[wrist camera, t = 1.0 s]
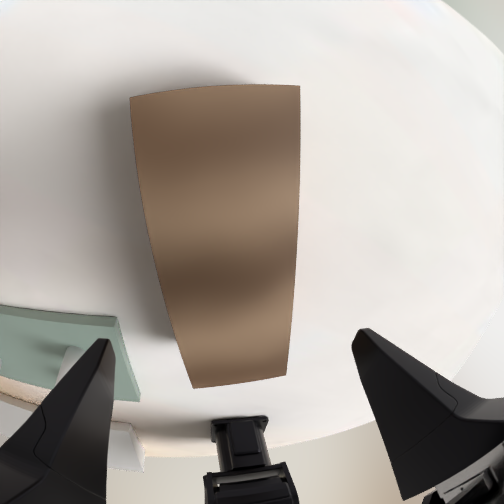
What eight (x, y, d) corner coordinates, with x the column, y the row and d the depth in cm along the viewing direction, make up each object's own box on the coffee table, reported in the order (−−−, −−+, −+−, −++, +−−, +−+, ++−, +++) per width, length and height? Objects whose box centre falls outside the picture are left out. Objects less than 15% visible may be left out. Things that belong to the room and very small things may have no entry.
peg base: (140, 393, 21) (137, 439, 17) (-10, 364, 17) (-23, 397, 13) (116, 317, 17) (102, 374, 12) (-49, 295, 12) (-71, 328, 8)
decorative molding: (-42, 359, 20) (-20, 403, 22) (-55, 373, 15) (-30, 418, 17) (132, 404, 27) (145, 448, 30) (128, 431, 23) (143, 472, 25)
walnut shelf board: (270, 328, 20) (286, 375, 16) (191, 338, 19) (193, 388, 15) (269, 92, 12) (299, 85, 8) (151, 101, 11) (129, 97, 8)
